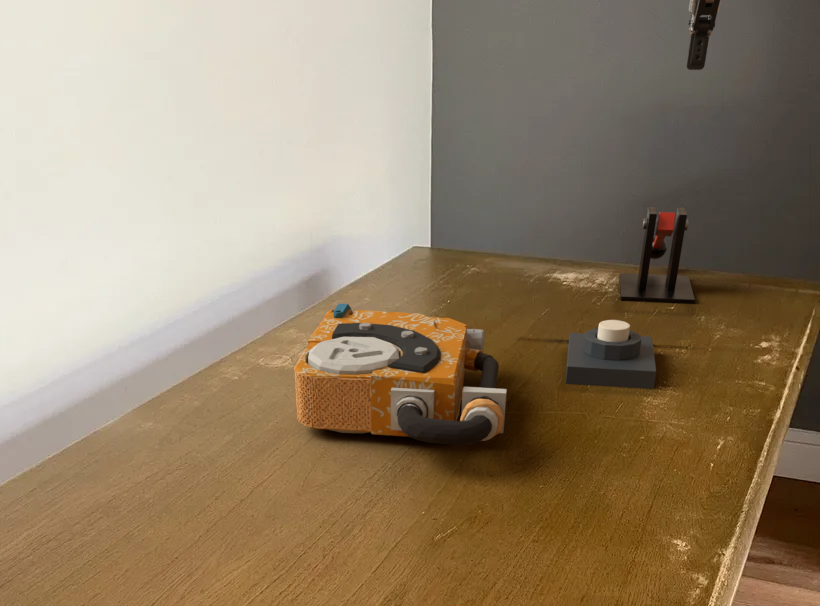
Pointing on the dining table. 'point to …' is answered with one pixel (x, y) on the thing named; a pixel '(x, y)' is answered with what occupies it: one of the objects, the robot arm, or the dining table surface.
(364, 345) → the device
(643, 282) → the lever bracket
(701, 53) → the robot arm
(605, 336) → the stop button
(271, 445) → the dining table surface
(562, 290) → the dining table surface
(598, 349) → the base block
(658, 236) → the red lever
